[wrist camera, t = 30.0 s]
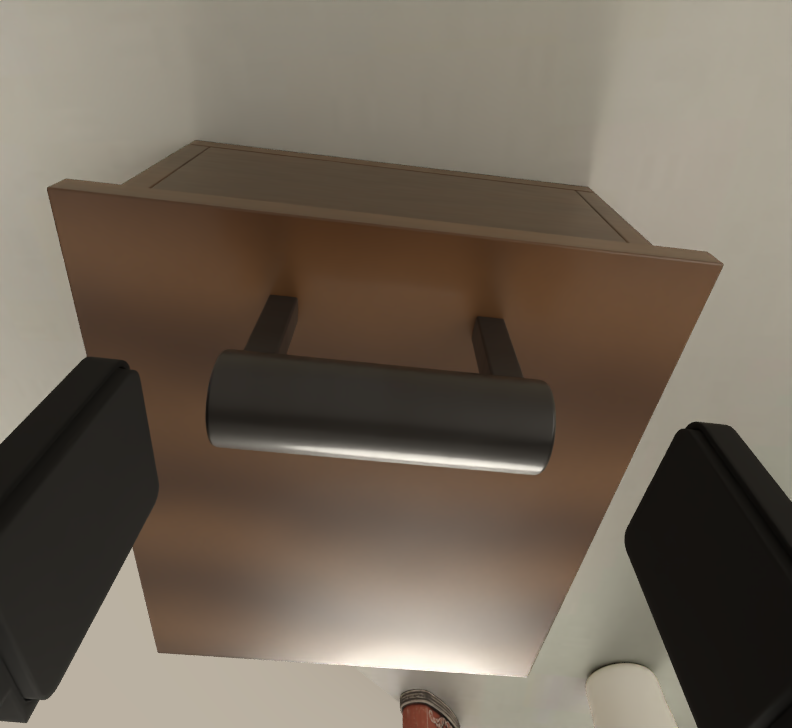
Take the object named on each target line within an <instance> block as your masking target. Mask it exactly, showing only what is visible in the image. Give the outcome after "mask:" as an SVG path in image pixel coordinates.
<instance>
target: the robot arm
mask: <svg viewBox="0 0 792 728" xmlns="http://www.w3.org/2000/svg"><path fill="white" fill-rule="evenodd" d="M158 492H159V480H158V475H157V469H156V464H155V458H154V452H153V447H152V441H151V436H150V430H149V424H148V419H147V413H146V408H145V402H144V396H143V391H142V385H141V380H140V376H139V373H138V372H137V371H136V370H131V369H130V367H129V365H128V363H127V362H126V361H124V360H118V359H109V358H100V357H86V358H85V359H83V360H82V361H81V362H80V363H79V364H78V365H77V366H76V367H75V368H74V369H73V370H72V371H71V372H70V373H69V374H68V375H67V376H66V377H65V378H64V379H63V380H62V381H61V383H60V384H59V385H58V386H57V387H56V388H55V389H54V390H53V391H52V392H51V393H50V394H49V395H48V396H47V397H46V398H45V399H44V400H43V401H42V402H41V403H40V404H39V405H38V406H37V407H36V408H35V409H34V410H33V411H32V412H31V413H30V414H29V415H28V416H27V417H26V418H25V420H24V421H23V422H22V423H21V424H20V425H19V426H18V427H17V428H16V429H15V430H14V431H13V432H12V433H11V434H10V435H9V436H8V437H7V438H6V439H5V440H4V441H3V442H2V443H1V444H0V721H8V722H20V723H27V722H28V720H29V718H30V716H31V714H32V712H33V711H34V709H35V707H36V705H37V703H38V702H39V700H46V699H48V698H49V697H50V696H51V695H52V694H53V693H54V692H55V690H56V689H57V687H58V685H59V683H60V682H61V680H62V678H63V676H64V674H65V672H66V670H67V668H68V667H69V665H70V663H71V661H72V659H73V657H74V655H75V653H76V652H77V650H78V648H79V646H80V644H81V642H82V640H83V638H84V637H85V635H86V633H87V631H88V628H89V627H90V625H91V623H92V622H93V619H94V618H95V616H96V614H97V612H98V610H99V608H100V606H101V605H102V603H103V601H104V599H105V597H106V595H107V593H108V591H109V590H110V588H111V586H112V584H113V582H114V580H115V578H116V576H117V575H118V573H119V571H120V569H121V567H122V565H123V563H124V561H125V560H126V558H127V556H128V554H129V552H130V550H131V548H132V546H133V545H134V543H135V541H136V539H137V537H138V535H139V533H140V531H141V530H142V528H143V526H144V524H145V522H146V520H147V518H148V516H149V515H150V513H151V511H152V509H153V507H154V505H155V503H156V500H157V497H158ZM625 548H626V551H627V554H628V556H629V558H630V561H631V563H632V566H633V568H634V571H635V573H636V576H637V578H638V581H639V583H640V586H641V588H642V591H643V593H644V596H645V598H646V601H647V603H648V606H649V608H650V611H651V613H652V616H653V618H654V620H655V623H656V625H657V628H658V630H659V633H660V635H661V638H662V640H663V643H664V645H665V648H666V650H667V653H668V655H669V658H670V660H671V663H672V665H673V668H674V670H675V673H676V675H677V677H678V680H679V682H680V685H681V687H682V690H683V692H684V695H685V697H686V700H687V702H688V705H689V707H690V710H691V712H692V715H693V717H694V720H695V722H696V725H697V727H698V728H792V502H791V501H790V499H789V498H788V497H787V496H786V494H785V493H784V492H783V490H782V489H781V488H780V487H779V485H778V484H777V483H776V482H775V480H774V479H773V478H772V477H771V475H770V474H769V473H768V471H767V470H766V469H765V468H764V466H763V465H762V464H761V463H760V461H759V460H758V459H757V457H756V456H755V455H754V454H753V452H752V451H751V450H750V449H749V447H748V446H747V445H746V443H745V442H744V441H743V440H742V438H741V437H740V436H739V435H738V433H737V432H736V431H735V430H734V429H733V428H732V427H731V426H728V425H722V424H713V423H704V422H692V423H690V424H689V425H688V426H687V427H686V428H685V429H680V430H679V431H678V432H677V433H676V435H675V436H674V438H673V440H672V442H671V444H670V446H669V448H668V450H667V452H666V454H665V456H664V458H663V460H662V461H661V463H660V465H659V467H658V469H657V471H656V473H655V475H654V477H653V479H652V481H651V483H650V485H649V486H648V488H647V490H646V492H645V494H644V496H643V498H642V500H641V502H640V504H639V506H638V508H637V510H636V512H635V513H634V515H633V517H632V519H631V521H630V523H629V525H628V527H627V529H626V532H625Z"/></svg>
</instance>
